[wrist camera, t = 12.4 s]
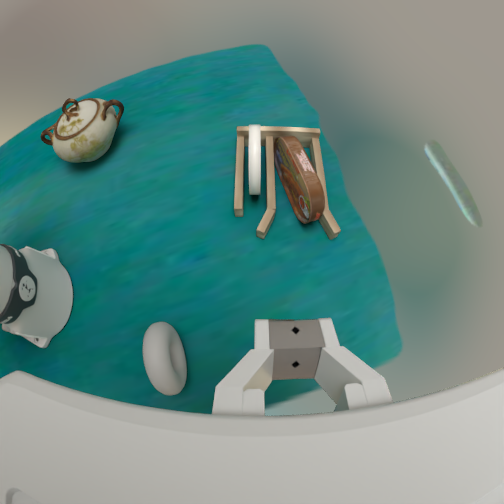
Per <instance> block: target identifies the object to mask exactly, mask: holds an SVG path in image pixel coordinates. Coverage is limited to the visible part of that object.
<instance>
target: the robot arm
mask: <svg viewBox="0 0 504 504" xmlns="http://www.w3.org/2000/svg"><path fill="white" fill-rule="evenodd" d="M72 302H73V290H72V283H71V280H70V277H69V274H68V272H67V271H66V269H65V268H64V267H63V265H62V264H61V263H60V261H59V258H58V255H57V252H56V250H54V249H47V250H43V251H38V250H35V249H33V248H30V247H25V248H22V249H20V250H16V249H15V248H13V247H11V246H8V245H5V244H0V323H2V329H3V330H5V331H7V332H10V333H12V334H17V335H21V336H23V337H24V338H26V339H27V340H29V341H30V342H32V343H34V344H35V345H37V346H39V347H41V348H46V347H47V346H48V344H49V342H50V340H51V338H52V337H53V336H54V335H56V334H57V333H58V332H60V331H61V330H62V328H63V327H64V326H65V324H66V322H67V320H68V318H69V316H70V312H71V308H72ZM38 338H39V341H38ZM306 378H314V379H315V380H316V382H317V383H318V384H319V385H320V386H321V387H322V388H323V390H324V391H325V392H326V393H327V394H328V395H329V396H330V398H331V399H332V400H334V402H335V403H336V404H337V405H336V407H335V410H334V412H328V413H317V414H305V415H286V416H265V408H264V392H265V390H266V389H267V387H268V386H269V384H270V383H271V382H272V380H280V379H306ZM0 504H504V367H503V368H501V369H499V370H496V371H494V372H491V373H489V374H486V375H484V376H481V377H479V378H476V379H473V380H471V381H468V382H465V383H462V384H459V385H456V386H453V387H450V388H447V389H443V390H440V391H437V392H433V393H430V394H426V395H423V396H419V397H414V398H411V399H406V400H402V401H397V402H393V401H392V398H391V395H390V392H389V389H388V386H387V384H386V381H385V378H384V377H382V376H381V375H380V374H378V373H377V372H376V371H375V370H373V369H372V368H371V367H369V366H368V365H367V364H366V363H364V362H363V361H362V360H360V359H359V358H358V357H357V356H355V355H354V354H353V353H351V352H350V351H349V350H348V349H346V348H345V347H344V346H341V347H340V345H339V342H338V338H337V335H336V332H335V329H334V325H333V322H332V319H331V318H319V319H298V320H276V319H269V320H262V319H255V349H251V350H250V351H249V352H248V353H247V354H246V355H245V356H244V357H243V358H242V359H241V361H240V362H239V363H238V364H237V365H236V366H235V367H234V368H233V369H232V370H231V371H230V372H229V373H228V374H227V375H226V376H225V377H224V379H223V380H222V381H221V382H220V383H219V384H218V385H217V386H216V388H215V396H214V403H213V411H212V414H202V413H191V412H182V411H174V410H166V409H159V408H153V407H147V406H141V405H136V404H131V403H126V402H121V401H116V400H112V399H108V398H103V397H99V396H95V395H92V394H88V393H84V392H81V391H77V390H74V389H71V388H67V387H64V386H61V385H58V384H55V383H52V382H49V381H46V380H44V379H41V378H38V377H36V376H33V375H31V374H28V373H26V372H23V371H15V372H12V373H10V374H8V375H6V376H4V377H3V378H1V379H0Z"/></svg>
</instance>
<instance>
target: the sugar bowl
mask: <svg viewBox="0 0 504 504" xmlns="http://www.w3.org/2000/svg"><path fill="white" fill-rule="evenodd" d="M69 103H74V104H73V105H72V106H70V107H69V108H68V109H67V110H66V105H67V104H69ZM112 105H116V106H118V107H119V109H120V110H119V113H118V115H117V116H116V112H115V110H114V108H113V107H112ZM62 111H63V114H62V115H61V116H60V117H59V119H58V121H57V123H55V124H54V125H52V126H51V127H49V128H47V129H45V130H44V131H43V132H42V134H41V140H42V141H43V142H44V143H46V144H48V145H53V148H54V150H55V152H56V154H57V155H58V156H59V157H60V158H61V159H63V160H65V161H68V162H74V163H80V162H91V161H94V160H96V159H98V158H100V157H101V156H102V155H103V154H105V152H106V151H107V150H108V149H109V147H110V145H111V142H112V139H113V136H114V133H115V130H116V129H117V127H118V125H119V121H120V118H121V116H122V114H123V111H124V106H123V104H122V103H121V102H119V101H117V100H110V101H108V102H107V101H105V100H102V99H93V98H89V99H84V100H81V101H79V102H77V101H76V100H74V99H70V98H69V99H67V100H66V101H65V103H64V104H63V107H62ZM52 129H54V132H53V134H52V133H51V132H49V131H50V130H52ZM45 135H48V136H49V137H50V139H51V140H48V139H46V138H45Z"/></svg>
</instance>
